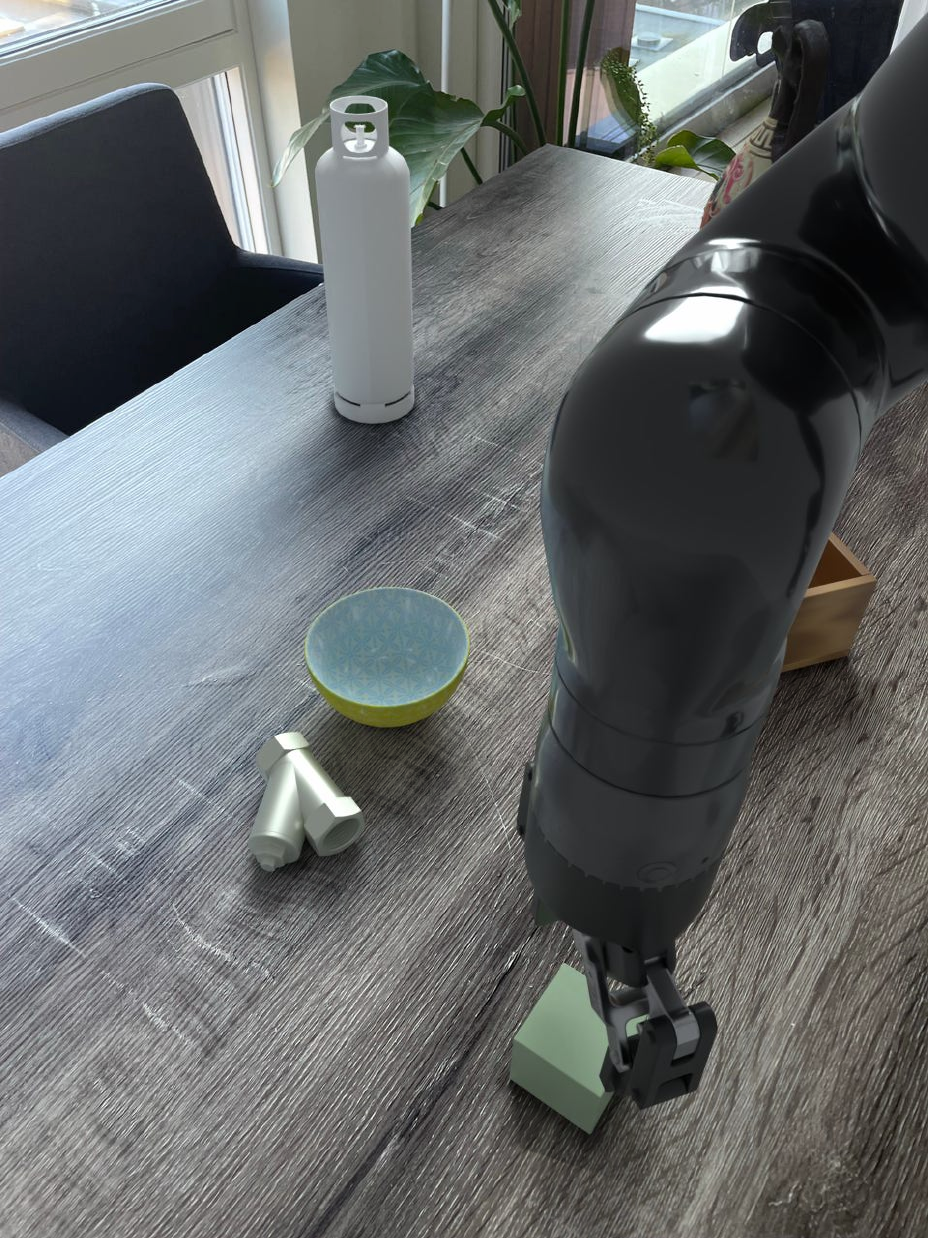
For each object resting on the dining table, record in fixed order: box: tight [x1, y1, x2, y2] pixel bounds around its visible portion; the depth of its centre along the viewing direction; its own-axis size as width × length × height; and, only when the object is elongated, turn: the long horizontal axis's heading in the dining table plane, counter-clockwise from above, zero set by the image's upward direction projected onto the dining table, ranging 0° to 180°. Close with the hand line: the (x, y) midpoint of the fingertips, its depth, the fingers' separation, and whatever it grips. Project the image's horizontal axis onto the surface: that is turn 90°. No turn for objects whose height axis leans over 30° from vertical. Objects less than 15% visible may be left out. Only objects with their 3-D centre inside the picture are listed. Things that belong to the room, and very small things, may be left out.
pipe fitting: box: [247, 731, 366, 872], centre depth 64 cm, size 8×4×7 cm
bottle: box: [314, 95, 415, 425], centre depth 92 cm, size 8×8×28 cm
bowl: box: [303, 586, 471, 728], centre depth 70 cm, size 11×12×6 cm
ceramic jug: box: [698, 19, 831, 231], centre depth 107 cm, size 17×15×30 cm
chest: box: [781, 531, 879, 674], centre depth 76 cm, size 14×12×8 cm
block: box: [508, 962, 648, 1135], centre depth 52 cm, size 5×5×5 cm
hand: (585, 992), depth 48 cm, fingers open, 8 cm apart
